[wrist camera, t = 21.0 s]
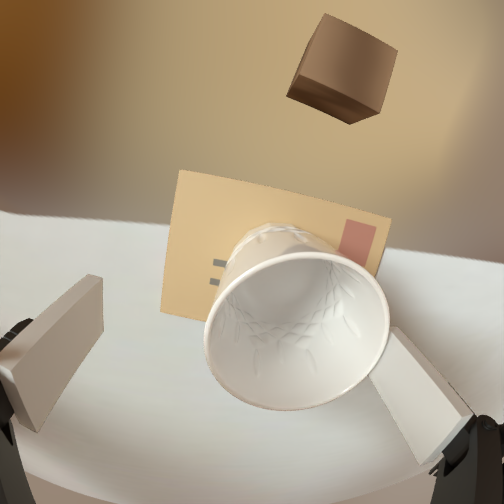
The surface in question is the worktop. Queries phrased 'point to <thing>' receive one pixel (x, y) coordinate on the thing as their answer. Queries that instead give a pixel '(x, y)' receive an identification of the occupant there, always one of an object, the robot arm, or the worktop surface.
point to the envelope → (239, 223)
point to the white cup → (293, 321)
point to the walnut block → (343, 71)
